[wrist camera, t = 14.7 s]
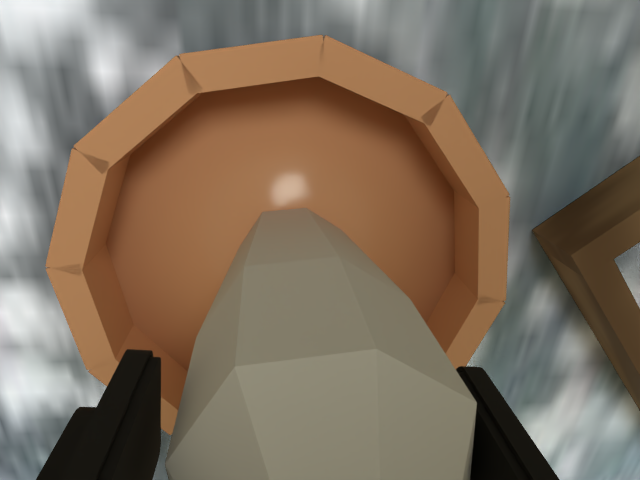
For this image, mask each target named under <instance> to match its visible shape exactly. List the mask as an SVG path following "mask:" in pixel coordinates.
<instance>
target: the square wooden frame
mask: <svg viewBox="0 0 640 480" xmlns="http://www.w3.org/2000/svg"><path fill="white" fill-rule="evenodd" d="M532 231H533V233H534V234H535V236H536V238H537V239H538V241H539V243H540V244H541V246H542V248H543V249H544V251H545V253H546V254H547V256H548V258H549V259H550V261H551V263H552V264H553V266H554V268H555V269H556V271H557V273H558V274H559V276H560V278H561V279H562V281H563V283H564V284H565V286H566V288H567V289H568V291H569V293H570V294H571V296H572V298H573V300H574V301H575V303H576V305H577V306H578V308H579V310H580V311H581V313H582V315H583V316H584V318H585V320H586V321H587V323H588V325H589V326H590V328H591V330H592V331H593V333H594V335H595V336H596V338H597V340H598V341H599V343H600V345H601V346H602V348H603V350H604V351H605V353H606V355H607V356H608V358H609V360H610V361H611V363H612V365H613V366H614V368H615V370H616V371H617V373H618V375H619V376H620V378H621V380H622V381H623V383H624V385H625V387H626V388H627V390H628V392H629V393H630V395H631V397H632V398H633V400H634V402H635V403H636V405H637V407H638V408H639V410H640V309H639V307H638V305H637V303H636V301H635V299H634V297H633V295H632V293H631V291H630V290H629V288H628V286H627V284H626V282H625V280H624V278H623V276H622V274H621V272H620V271H619V269H618V267H617V265H616V263H615V261H614V259H615V258H616V257H618V256H619V255H621V254H622V253H624V252H625V251H627V250H628V249H630V248H631V247H633V246H634V245H636V244H637V243H639V242H640V156H639V157H638V158H636V159H635V160H633V161H632V162H630V163H629V164H627V165H626V166H624V167H623V168H622V169H620V170H619V171H617V172H616V173H614V174H613V175H611V176H610V177H608V178H607V179H606V180H604V181H603V182H601V183H600V184H598V185H597V186H595V187H594V188H592V189H591V190H590V191H588V192H587V193H585V194H584V195H582V196H581V197H579V198H578V199H576V200H575V201H574V202H572V203H571V204H569V205H568V206H566V207H565V208H563V209H562V210H560V211H559V212H558V213H556V214H555V215H553V216H552V217H550V218H549V219H547V220H546V221H544V222H543V223H542V224H540V225H539V226H537V227H536V228H534V229H533V230H532Z"/></svg>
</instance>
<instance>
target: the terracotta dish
mask: <svg viewBox="0 0 640 480" xmlns="http://www.w3.org/2000/svg"><path fill="white" fill-rule="evenodd" d="M179 55H180V56H175V57H174V58H173V59H172V60H170V61H169V62H168V63H167V64H166V65H165V66H164V67H163V68H161V69H160V70H159V71H158V72H157V73H156V74H155V75H153V76H152V77H151V78H150V79H149V80H148V81H147V82H146V83H144V84H143V85H142V86H141V87H140V88H139V89H138V90H136V91H135V92H134V93H133V94H132V95H131V96H130V97H129V98H127V99H126V100H125V101H124V102H123V103H122V104H121V105H119V106H118V107H117V108H116V109H115V110H114V111H113V112H112V113H110V114H109V115H108V116H107V117H106V118H105V119H104V120H102V121H101V122H100V123H99V124H98V125H97V126H96V127H95V128H93V129H92V130H91V131H90V132H89V133H88V134H87V135H85V136H84V137H83V138H82V139H81V140H80V141H79V142H78V143H76V144H75V145H74V147H75V148H72V151H71V155H70V160H69V164H68V168H67V173H66V177H65V182H64V186H63V191H62V195H61V199H60V204H59V208H58V213H57V217H56V221H55V226H54V230H53V235H52V239H51V244H50V248H49V252H48V257H47V261H46V267H47V268H46V271H47V274H48V276H49V278H50V281H51V283H52V286H53V288H54V291H55V293H56V296H57V298H58V301H59V303H60V305H61V308H62V310H63V313H64V315H65V318H66V320H67V323H68V325H69V328H70V330H71V332H72V335H73V337H74V340H75V342H76V345H77V347H78V350H79V352H80V355H81V357H82V359H83V362H84V364H85V367H86V369H87V370H89V369H90V370H89V371H88V372H89V373H91V374H92V375H93V376H94V377H96V378H97V379H98V380H100V381H101V382H102V383H103V384H105V385H106V386H108V384H109V382H110V380H111V378H112V376H113V374H114V372H115V370H116V368H117V366H118V364H119V362H120V360H121V358H122V357H123V355H124V353H125V351H126V350H127V349H135V350H152V351H153V357H160V358H161V429H163V430H164V431H165V432H167V433H168V434H169V435H171V434H172V433H173V429H174V425H175V421H176V417H177V413H178V409H179V405H180V401H181V397H182V393H183V389H184V385H185V381H186V377H187V373H188V369H189V365H190V361H191V356H192V352H193V348H194V344H195V340H196V337H197V335H198V333H199V331H200V329H201V326H202V324H203V322H204V320H205V318H206V316H207V314H208V312H209V310H210V308H211V306H212V303H213V301H214V299H215V297H216V295H217V293H218V291H219V289H220V287H221V285H222V282H223V280H224V278H225V276H226V274H227V272H228V270H229V268H230V266H231V264H232V262H233V259H234V257H235V255H236V253H237V251H238V249H239V247H240V245H241V244H242V242H243V241H244V239H245V238H246V236H247V235H248V233H249V232H250V230H251V229H252V227H253V226H254V224H255V223H256V221H257V220H258V218H259V217H260V215H261V213H262V212H267V211H277V210H288V209H298V208H307V209H309V210H311V211H312V212H314V213H315V214H317V215H319V216H320V217H322V218H323V219H325V220H327V221H328V222H330V223H331V224H333V225H335V226H336V227H338V228H339V229H341V230H342V231H343V232H344V233H345V234H346V235H347V236H348V237H349V238H350V239H351V240H352V241H353V242H354V243H355V244H356V245H357V246H358V247H359V248H360V249H361V250H362V251H363V252H364V253H365V254H366V255H367V256H368V257H369V258H370V259H371V260H372V261H373V262H374V263H375V264H376V265H377V266H378V267H379V268H380V269H381V270H382V271H383V272H384V273H385V274H386V275H387V276H388V277H389V278H390V279H391V280H392V281H393V282H394V283H395V284H396V285H397V286H398V287H399V288H400V289H401V290H402V291H403V292H404V293H405V294H406V295H407V296H408V297H409V298H410V299H411V301H412V302H413V304H414V306H415V307H416V309H417V310H418V312H419V313H420V315H421V316H422V318H423V320H424V321H425V323H426V324H427V326H428V327H429V329H430V331H431V332H432V334H433V335H434V337H435V338H436V340H437V341H438V343H439V345H440V346H441V348H442V349H443V351H444V352H445V354H446V355H447V357H448V359H449V360H450V362H451V363H452V365H453V366H454V368H455V369H457V368H458V367H460V366H466V365H467V363H468V362H469V360H470V358H471V357H472V355H473V354H474V352H475V350H476V349H477V347H478V346H479V344H480V342H481V341H482V339H483V338H484V336H485V334H486V333H487V331H488V330H489V328H490V326H491V325H492V323H493V321H494V320H495V318H496V317H497V315H498V313H499V312H500V310H501V309H502V307H503V305H504V304H505V302H504V301H506V286H507V261H508V237H509V212H510V197H509V196H508V195H509V193H508V191H507V190H506V188H505V186H504V185H503V183H502V181H501V179H500V178H499V176H498V174H497V173H496V171H495V169H494V168H493V166H492V164H491V163H490V161H489V159H488V158H487V156H486V154H485V153H484V151H483V149H482V148H481V146H480V144H479V143H478V141H477V139H476V138H475V136H474V134H473V133H472V131H471V129H470V128H469V126H468V124H467V123H466V121H465V119H464V118H463V116H462V114H461V113H460V111H459V109H458V108H457V106H456V104H455V103H454V101H453V99H452V98H451V96H450V95H449V94H447V92H445V91H443V90H441V89H439V88H437V87H434V86H432V85H430V84H428V83H426V82H424V81H422V80H420V79H417V78H415V77H413V76H411V75H409V74H407V73H405V72H403V71H400V70H398V69H396V68H394V67H392V66H390V65H388V64H386V63H384V62H381V61H379V60H377V59H375V58H373V57H371V56H369V55H367V54H364V53H362V52H360V51H358V50H356V49H354V48H352V47H350V46H347V45H345V44H343V43H341V42H339V41H337V40H335V39H333V38H330V37H328V36H326V35H325V36H323V35H317V36H310V37H302V38H295V39H287V40H280V41H273V42H265V43H258V44H250V45H243V46H236V47H228V48H221V49H213V50H206V51H199V52H191V53H184V54H179Z"/></svg>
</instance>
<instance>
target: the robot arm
mask: <svg viewBox="0 0 640 480" xmlns="http://www.w3.org/2000/svg"><path fill="white" fill-rule="evenodd" d="M456 371H457V373H458V374H459V376H460V377H461V379H462V380H463V382H464V383H465V385H466V387H467V388H468V390H469V391H470V393H471V394H472V396H473V398H474V399H475V401H476V402H477V407H476V419H475V430H474V441H473V453H472V464H471V475H470V480H559V478H558V477H557V475H556V474H555V473H554V471H553V470H552V468H551V467H550V465H549V464H548V462H547V461H546V459H545V458H544V457H543V455H542V454H541V452H540V451H539V449H538V448H537V446H536V445H535V443H534V442H533V440H532V439H531V438H530V436H529V435H528V433H527V432H526V430H525V429H524V427H523V426H522V424H521V423H520V422H519V420H518V419H517V417H516V416H515V414H514V413H513V411H512V410H511V408H510V407H509V405H508V404H507V403H506V401H505V400H504V398H503V397H502V395H501V394H500V392H499V391H498V389H497V388H496V387H495V385H494V384H493V382H492V381H491V379H490V378H489V376H488V375H487V373H486V372H485V371H484V370H483V368H480V367H466V366H460V367H458V368H457V369H456ZM160 445H161V358H160V357H153V351H152V350H135V349H127V350H126V351H125V353H124V355H123V357H122V358H121V360H120V362H119V364H118V366H117V368H116V370H115V372H114V374H113V376H112V378H111V380H110V382H109V384H108V386H107V388H106V390H105V392H104V394H103V396H102V398H101V400H100V401H99V403H98V405H97V407H79V408H78V409H77V410H76V411H75V413H74V414H73V416H72V417H71V419H70V421H69V423H68V424H67V426H66V428H65V430H64V431H63V433H62V435H61V437H60V438H59V440H58V442H57V444H56V445H55V447H54V449H53V451H52V452H51V454H50V456H49V458H48V460H47V461H46V463H45V465H44V467H43V468H42V470H41V472H40V474H39V475H38V477H37V479H36V480H152V479H153V475H154V472H155V468H156V465H157V462H158V458H159V453H160Z"/></svg>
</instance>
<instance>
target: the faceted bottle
mask: <svg viewBox="0 0 640 480" xmlns="http://www.w3.org/2000/svg"><path fill="white" fill-rule="evenodd" d="M476 407H477V402H476V401H475V399H474V398H473V396H472V394H471V393H470V391H469V390H468V388H467V387H466V385H465V383H464V382H463V380H462V379H461V377H460V376H459V374H458V373H457V371H456V369H455V368H454V366H453V365H452V363H451V362H450V360H449V359H448V357H447V355H446V354H445V352H444V351H443V349H442V348H441V346H440V345H439V343H438V341H437V340H436V338H435V337H434V335H433V334H432V332H431V331H430V329H429V327H428V326H427V324H426V323H425V321H424V320H423V318H422V316H421V315H420V313H419V312H418V310H417V309H416V307H415V306H414V304H413V302H412V301H411V299H410V298H409V297H408V296H407V295H406V294H405V293H404V292H403V291H402V290H401V289H400V288H399V287H398V286H397V285H396V284H395V283H394V282H393V281H392V280H391V279H390V278H389V277H388V276H387V275H386V274H385V273H384V272H383V271H382V270H381V269H380V268H379V267H378V266H377V265H376V264H375V263H374V262H373V261H372V260H371V259H370V258H369V257H368V256H367V255H366V254H365V253H364V252H363V251H362V250H361V249H360V248H359V247H358V246H357V245H356V244H355V243H354V242H353V241H352V240H351V239H350V238H349V237H348V236H347V235H346V234H345V233H344V232H343V231H342V230H341V229H339V228H338V227H336V226H335V225H333V224H331V223H330V222H328V221H327V220H325V219H323V218H322V217H320V216H319V215H317V214H315V213H314V212H312V211H311V210H309V209H307V208H298V209H288V210H277V211H267V212H262V213H261V215H260V217H259V218H258V220H257V221H256V223H255V224H254V226H253V227H252V229H251V230H250V232H249V233H248V235H247V236H246V238H245V239H244V241H243V242H242V244H241V245H240V247H239V249H238V251H237V253H236V255H235V257H234V259H233V262H232V264H231V266H230V268H229V270H228V272H227V274H226V276H225V278H224V280H223V282H222V285H221V287H220V289H219V291H218V293H217V295H216V297H215V299H214V301H213V303H212V306H211V308H210V310H209V312H208V314H207V316H206V318H205V320H204V322H203V324H202V326H201V329H200V331H199V333H198V335H197V337H196V340H195V344H194V348H193V352H192V356H191V361H190V365H189V369H188V373H187V377H186V381H185V385H184V389H183V393H182V397H181V401H180V405H179V409H178V413H177V417H176V421H175V425H174V429H173V433H172V437H171V441H170V445H169V449H168V453H167V458H166V462H165V467H166V471H167V475H168V479H169V480H470V475H471V464H472V453H473V441H474V430H475V419H476Z"/></svg>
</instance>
